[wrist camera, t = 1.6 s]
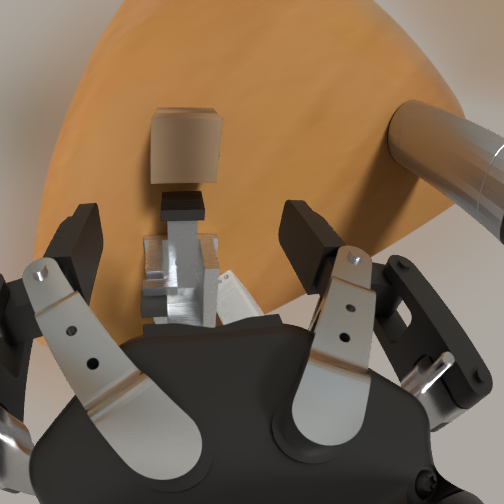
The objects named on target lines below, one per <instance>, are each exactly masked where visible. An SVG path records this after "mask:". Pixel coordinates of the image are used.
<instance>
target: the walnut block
mask: <svg viewBox="0 0 504 504" xmlns="http://www.w3.org/2000/svg"><path fill="white" fill-rule="evenodd" d="M222 123H223V119H222V118H221V117H220V116H219V114H218V113H217V112H216V111H215V110H214V109H213V108H157V110H156V112H155V113H154V115H153V117H152V119H151V184H159V183H216V181H217V170H218V160H219V150H220V140H221V131H222Z"/></svg>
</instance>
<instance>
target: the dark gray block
mask: <svg viewBox="0 0 504 504" xmlns="http://www.w3.org/2000/svg"><path fill="white" fill-rule="evenodd" d="M141 315H142V318H148V317H168V307H167V295H159V296H144V294H143V290H142V294H141Z"/></svg>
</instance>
